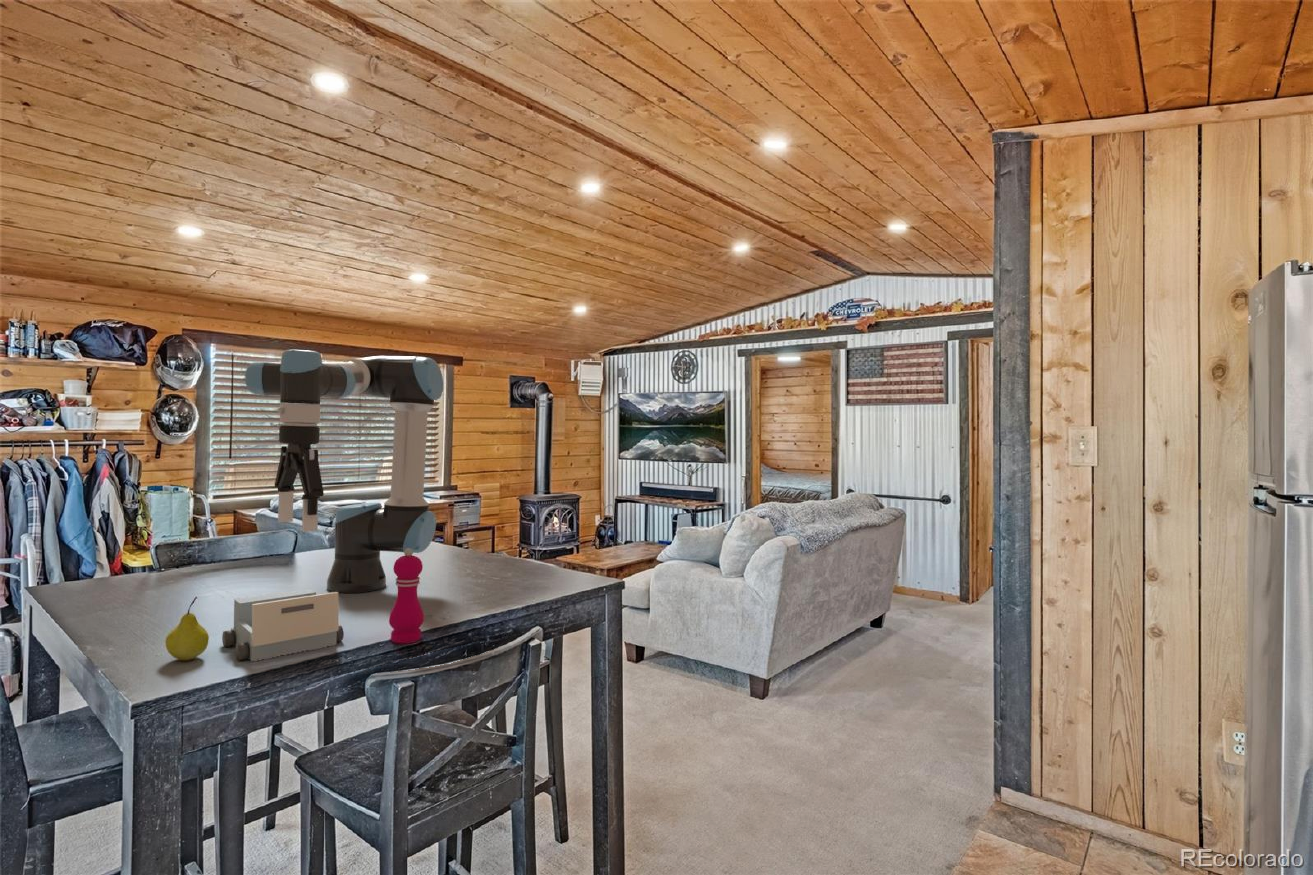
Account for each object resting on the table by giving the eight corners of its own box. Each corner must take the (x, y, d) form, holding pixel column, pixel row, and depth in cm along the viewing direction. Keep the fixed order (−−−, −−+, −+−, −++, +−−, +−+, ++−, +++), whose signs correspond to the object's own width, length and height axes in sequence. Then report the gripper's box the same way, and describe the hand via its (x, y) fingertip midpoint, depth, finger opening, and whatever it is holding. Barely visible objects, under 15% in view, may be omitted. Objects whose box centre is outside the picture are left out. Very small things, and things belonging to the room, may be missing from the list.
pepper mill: (394, 633, 156) (396, 544, 156) (427, 634, 157) (429, 545, 156) (384, 644, 149) (386, 551, 148) (418, 644, 150) (421, 552, 149)
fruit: (175, 668, 131) (176, 605, 131) (158, 660, 135) (159, 599, 135) (214, 658, 137) (215, 598, 137) (197, 651, 141) (198, 592, 141)
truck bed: (220, 643, 146) (221, 601, 145) (319, 626, 159) (320, 587, 159) (241, 664, 135) (242, 617, 135) (345, 643, 149) (346, 601, 148)
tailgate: (252, 645, 136) (251, 604, 136) (336, 629, 147) (336, 591, 147) (253, 646, 135) (253, 605, 135) (338, 630, 146) (338, 592, 147)
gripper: (259, 422, 151) (257, 519, 152) (303, 426, 134) (300, 536, 135) (296, 423, 157) (294, 517, 157) (343, 427, 139) (340, 533, 140)
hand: (297, 526), depth 146 cm, fingers open, 13 cm apart
